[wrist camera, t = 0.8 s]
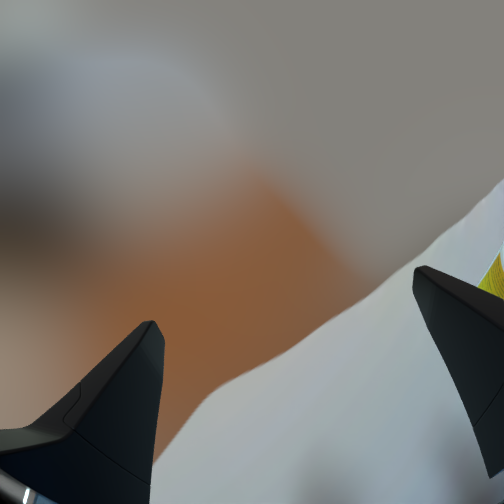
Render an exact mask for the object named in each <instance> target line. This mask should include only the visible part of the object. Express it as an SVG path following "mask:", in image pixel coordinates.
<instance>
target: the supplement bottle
mask: <svg viewBox="0 0 504 504" xmlns="http://www.w3.org/2000/svg"><path fill="white" fill-rule="evenodd" d="M476 287H478V288H480V289H482V290H485V291H487V292H489V293H491V294H494V295H496V296H498V297H500V298H502V299H503V300H504V242H503V244H502V246H501V247H500V249H499V251H498V253H497V254H496V256H495V258H494V259H493V261H492V263H491V264H490V266H489V267H488V269H487V271H486V272H485V274H484V275H483V277H482V278H481V280H480V281H479V283H478V284H477V285H476Z"/></svg>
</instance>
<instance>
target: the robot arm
mask: <svg viewBox="0 0 504 504" xmlns="http://www.w3.org/2000/svg"><path fill="white" fill-rule="evenodd" d="M412 290H413V294H414V297H415V299H416V301H417V304H418V306H419V308H420V311H421V313H422V316H423V318H424V321H425V323H426V326H427V328H428V330H429V332H430V334H431V336H432V338H433V340H434V342H435V344H436V346H437V348H438V350H439V352H440V354H441V356H442V358H443V360H444V362H445V364H446V366H447V368H448V370H449V372H450V375H451V377H452V379H453V381H454V383H455V386H456V388H457V390H458V393H459V395H460V397H461V400H462V402H463V404H464V407H465V409H466V412H467V414H468V417H469V419H470V422H471V425H472V427H473V430H474V433H475V436H476V439H477V441H478V444H479V447H480V450H481V453H482V456H483V459H484V463H485V466H486V469H487V473H488V476H489V478H490V479H491V478H492V477H494V476H496V475H497V474H499V473H500V472H502V471H503V470H504V300H503V299H502V298H500V297H498V296H496V295H494V294H491V293H489V292H487V291H485V290H482V289H480V288H478V287H476V286H473V285H471V284H469V283H467V282H464V281H462V280H460V279H457V278H455V277H453V276H450V275H448V274H445V273H443V272H441V271H438V270H436V269H433V268H431V267H429V266H426V265H424V266H420V267H417V268H415V270H414V276H413V286H412ZM164 349H165V340H164V337H163V335H162V333H161V331H160V330H159V328H158V326H157V324H156V322H155V321H153V320H151V321H144V322H142V323H141V324H140V325H139V326H138V327H137V328H136V329H134V330H133V331H132V332H131V333H130V334H129V335H128V336H127V337H126V338H125V339H124V340H123V341H122V342H121V343H120V344H118V345H117V346H116V347H115V348H114V349H113V350H112V351H111V352H110V353H109V354H108V355H107V356H106V357H105V358H104V359H103V360H102V361H101V362H99V363H98V364H97V365H96V366H95V367H94V368H93V369H92V370H91V371H90V372H89V373H88V374H87V375H86V376H85V377H84V378H83V379H82V380H81V382H79V383H78V384H77V385H76V386H75V387H74V388H72V389H71V390H70V391H69V392H68V393H67V394H66V395H65V396H64V397H63V398H62V399H60V400H59V401H58V402H57V403H56V404H55V405H53V406H52V407H51V408H50V409H49V410H47V411H46V412H45V413H44V414H43V415H42V416H40V417H39V418H38V419H37V420H36V421H34V422H33V423H32V424H30V425H28V426H26V427H23V428H17V429H3V430H0V504H149V501H150V485H151V473H152V463H153V453H154V444H155V435H156V427H157V419H158V412H159V404H160V397H161V391H162V383H163V371H164ZM498 504H504V500H503V501H501V502H500V503H498Z"/></svg>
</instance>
